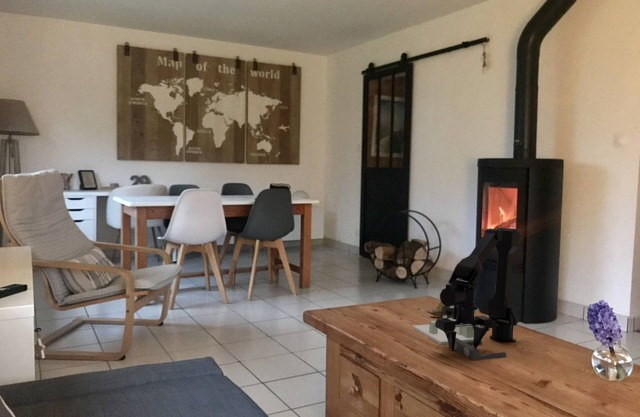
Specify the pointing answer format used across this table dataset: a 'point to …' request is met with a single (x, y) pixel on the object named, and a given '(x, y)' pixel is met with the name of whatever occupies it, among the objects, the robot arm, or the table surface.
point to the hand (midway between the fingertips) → (463, 349)
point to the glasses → (474, 351)
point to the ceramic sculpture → (438, 310)
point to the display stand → (439, 336)
